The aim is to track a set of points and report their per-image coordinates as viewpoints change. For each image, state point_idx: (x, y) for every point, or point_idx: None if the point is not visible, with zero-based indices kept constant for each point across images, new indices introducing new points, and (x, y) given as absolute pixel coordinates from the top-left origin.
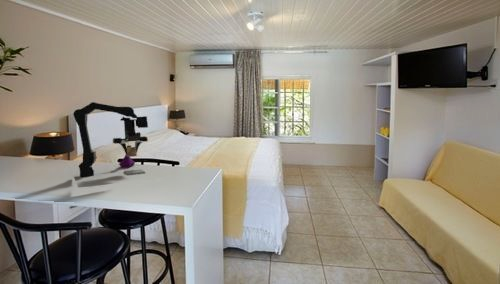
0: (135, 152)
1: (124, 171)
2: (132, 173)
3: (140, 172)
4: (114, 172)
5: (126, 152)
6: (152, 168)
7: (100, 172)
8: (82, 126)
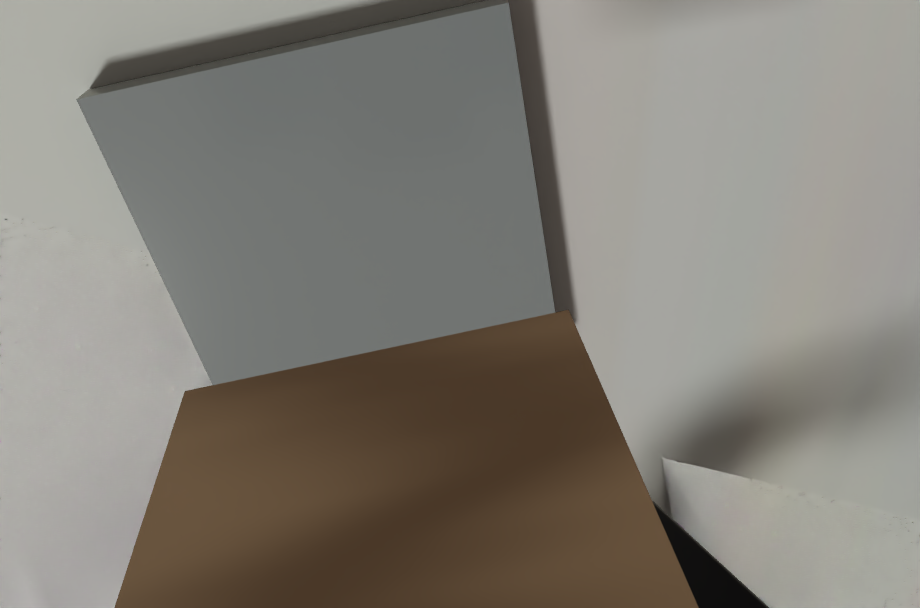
0: (196, 513)
1: (553, 307)
2: (386, 28)
3: (190, 70)
4: (711, 386)
5: None
6: (33, 537)
7: (907, 451)
8: None
